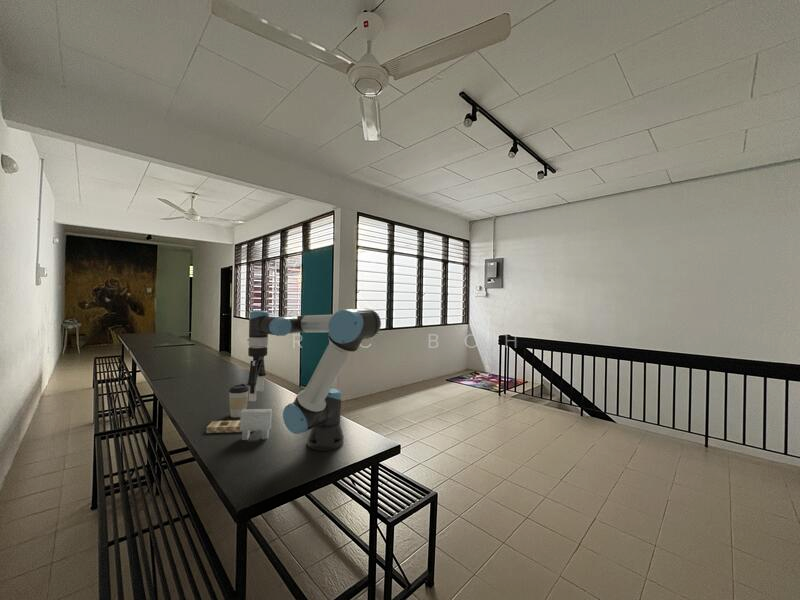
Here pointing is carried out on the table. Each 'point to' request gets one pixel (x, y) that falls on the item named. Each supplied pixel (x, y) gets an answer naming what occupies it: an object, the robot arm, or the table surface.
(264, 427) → the grey flat block
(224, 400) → the table surface
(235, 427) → the wooden ladder frame
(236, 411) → the coffee cup
